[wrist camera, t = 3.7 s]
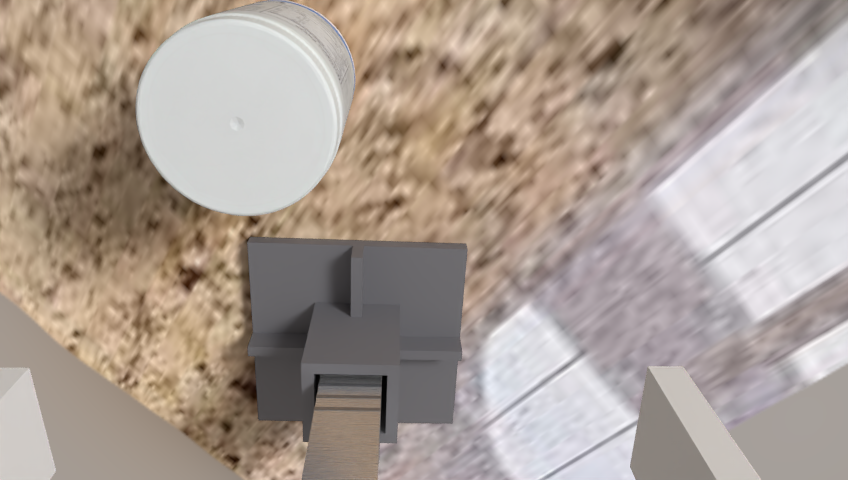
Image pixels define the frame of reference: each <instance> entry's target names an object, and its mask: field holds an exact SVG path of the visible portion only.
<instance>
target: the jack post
mask: <svg viewBox="0 0 848 480" xmlns="http://www.w3.org/2000/svg"><path fill="white" fill-rule="evenodd" d="M381 395H382V375H340V374H320V381H319V384H318V392H317V395H316V403H315V407H314V414H313V420H312V425H311V431H310V436H309V442H308V447H307V453H306V458H305V464H304V469H303V475H302V480H378V464H379V449H380V422H381Z"/></svg>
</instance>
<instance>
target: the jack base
mask: <svg viewBox="0 0 848 480" xmlns="http://www.w3.org/2000/svg"><path fill="white" fill-rule="evenodd" d="M247 245H248V261H249V277H250V293H251V309H252V324H253V334H252V337H251V339H250V342H249V344H248V356H255V372H256V388H257V403H258V419H259V420H275V421H303V442H309V436H310V431H311V425H312V420H313V414H314V407H315V403H316V395H317V392H318V384H319V381H320V374H340V375H382V395H381V422H380V443H397V428H398V423H453V411H454V399H455V388H456V376H457V365H458V361H461V359H462V348H461V342H460V330H461V318H462V306H463V295H464V283H465V271H466V260H467V246H466V244H457V243H425V242H394V241H362V240H331V239H300V238H268V237H250V238H249V240H248V242H247Z"/></svg>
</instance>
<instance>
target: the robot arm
mask: <svg viewBox="0 0 848 480" xmlns="http://www.w3.org/2000/svg"><path fill="white" fill-rule="evenodd" d="M630 468H631V470H632V472H633V474H634V477H635V479H636V480H761V479H760V477H759V476H758V474H757V473H756V471H755V470H754V468H753V467H752V466H751V464H750V463H749V461H748V460H747V458H746V457H745V455H744V454H743V453H742V451H741V450H740V448H739V447H738V445H737V444H736V442H735V441H734V440H733V438H732V437H731V436H730V434H729V432H728V431H727V429H726V428H725V427H724V425H723V424H722V422H721V421H720V419H719V418H718V416H717V415H716V414H715V412H714V411H713V409H712V408H711V406H710V405H709V404H708V402H707V401H706V399H705V398H704V396H703V395H702V393H701V392H700V391H699V389H698V388H697V386H696V385H695V383H694V382H693V380H692V379H691V378H690V376H689V375H688V373H687V372H686V370H685V369H684V367H683V366H648V368H647V374H646V379H645V385H644V391H643V396H642V402H641V408H640V413H639V419H638V424H637V430H636V436H635V441H634V447H633V453H632V458H631V464H630ZM55 472H56V469H55V465H54V461H53V457H52V453H51V449H50V446H49V442H48V438H47V434H46V431H45V426H44V423H43V419H42V415H41V411H40V407H39V403H38V400H37V395H36V392H35V388H34V384H33V380H32V376H31V372H30V369H29V368H0V480H50V479H51V477H52V476H53V475H54V473H55Z"/></svg>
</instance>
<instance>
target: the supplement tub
mask: <svg viewBox="0 0 848 480" xmlns="http://www.w3.org/2000/svg"><path fill="white" fill-rule="evenodd" d="M354 90H355V68H354V62H353V58H352V55H351V52H350V50H349V47H348V45H347V43H346V41H345V40H344V38H343V36H342V35H341V33H340V32H339V30H338V29H337V28H336V27H335V26H334V25H333V24H332V23H331V22H330V21H329V20H328V19H327V18H326V17H324V16H323V15H322V14H320V13H319V12H317V11H315V10H314V9H312V8H310V7H307V6H305V5H302V4H299V3H296V2H292V1H287V0H268V1H262V2H257V3H253V4H250V5H245V6H242V7H238V8H235V9H231V10H227V11H224V12H220V13H217V14H213V15H210V16H207V17H204V18H200V19H198V20H195V21H193V22H191V23H189V24H187V25H186V26H184V27H182V28H181V29H180V30H178V31H177V32H176V33H174V34H173V35H172V36H171V37H170V38H168V39H167V40H166V41H165V42H164V43H162V44H161V45H160V47H159V48H158V49H157V50H156V51H155V52H154V54H153V55H152V56H151V58H150V59H149V61H148V63H147V64H146V66H145V68H144V70H143V72H142V75H141V78H140V81H139V85H138V89H137V95H136V121H137V127H138V131H139V134H140V138H141V141H142V144H143V147H144V149H145V151H146V153H147V155H148V157H149V159H150V160H151V162H152V163H153V165H154V166H155V168H156V169H157V171H158V172H159V173H160V174H161V176H162V177H163V178H164V179H165V180H166V181H167V182H168V183H169V184H170V185H171V186H172V187H173V188H174V189H175V190H177V191H178V192H179V193H181V194H182V195H183V196H185V197H186V198H188V199H189V200H191V201H193V202H195V203H196V204H198V205H201V206H203V207H205V208H208V209H211V210H213V211H217V212H220V213H225V214H230V215H238V216H255V215H263V214H268V213H272V212H275V211H279V210H281V209H284V208H286V207H288V206H290V205H292V204H294V203H296V202H297V201H299V200H300V199H302V198H303V197H304V196H306V195H307V194H308V193H309V192H310V191H311V190H312V189H313V188H314V187H315V186H316V185H317V184H318V182H319V181H320V180H321V179H322V177H323V176H324V175H325V174H326V172H327V171H328V169H329V168H330V166H331V164H332V162H333V160H334V158H335V156H336V153H337V151H338V147H339V144H340V141H341V138H342V134H343V131H344V127H345V124H346V120H347V117H348V113H349V110H350V106H351V103H352V99H353V95H354Z"/></svg>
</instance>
